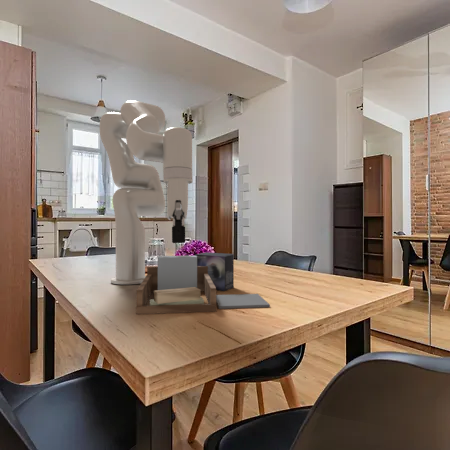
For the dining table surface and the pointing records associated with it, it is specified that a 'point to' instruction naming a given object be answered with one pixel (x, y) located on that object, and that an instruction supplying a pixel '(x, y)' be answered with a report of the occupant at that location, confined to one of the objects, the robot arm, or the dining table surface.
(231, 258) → the small box
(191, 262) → the block
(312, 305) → the dining table surface
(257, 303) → the pad
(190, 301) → the offcut lower
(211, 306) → the brown wooden tray
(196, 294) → the offcut upper
